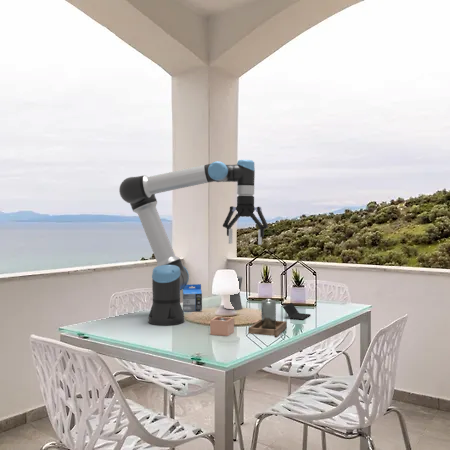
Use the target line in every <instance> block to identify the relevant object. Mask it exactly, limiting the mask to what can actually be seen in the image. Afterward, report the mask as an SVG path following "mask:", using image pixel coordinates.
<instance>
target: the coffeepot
mask: <svg viewBox="0 0 450 450" xmlns="http://www.w3.org/2000/svg"><path fill="white" fill-rule="evenodd" d="M237 278H238V281H239V289H240V292H241V289H242V284H243V283H242V282H243V277H242V276H240V275H237ZM240 292H239V293H238V294H234V295H230V302H231V304H232V306H233V307H234V309H235V310H234V311H239V310H240V311H241V310H242V309H243V305H242V299H241V293H240Z"/></svg>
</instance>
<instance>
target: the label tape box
mask: <svg viewBox="0 0 450 450" xmlns="http://www.w3.org/2000/svg"><path fill="white" fill-rule="evenodd" d="M182 310H183V313H185V312H188V313H189V312H202V311H203V293H202V284H201V283H199V284H198V283H197V284H195V283H193V284H191V283H190V284H187V285H186V286H185V287H184V288H183V289H182Z"/></svg>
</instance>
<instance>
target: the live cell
mask: <svg viewBox="0 0 450 450" xmlns="http://www.w3.org/2000/svg"><path fill="white" fill-rule="evenodd" d="M260 302H261V304H260V305H261V320H262V329H274V330H275V329H276V321H277V306H276V305H277V304H276V303H277V301H276V300H273V299H271V298H266V299H263V300H261V301H260Z"/></svg>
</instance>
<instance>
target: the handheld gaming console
mask: <svg viewBox="0 0 450 450" xmlns="http://www.w3.org/2000/svg"><path fill="white" fill-rule="evenodd" d="M283 309H284V311H285V313H286V314H287V315H288V317H289V319H290V320H295V321H304V320H306V319H308V318H309V317H311V314H310V313H304V312H303V313H301V312H299V311H298V310H297V308H296V306H295V304H294V303H293V302H290V303H288V304H286V305H284V306H283Z"/></svg>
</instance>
